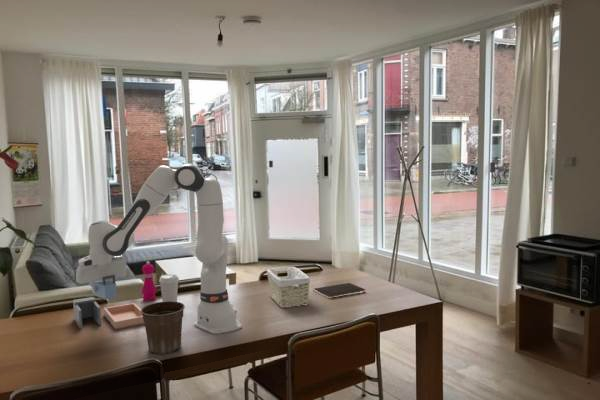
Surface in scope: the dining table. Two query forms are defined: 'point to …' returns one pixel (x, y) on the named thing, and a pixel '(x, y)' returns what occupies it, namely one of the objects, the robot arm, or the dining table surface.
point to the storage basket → (288, 286)
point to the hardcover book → (339, 289)
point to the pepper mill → (148, 282)
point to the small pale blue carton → (105, 288)
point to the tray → (124, 316)
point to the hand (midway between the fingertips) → (103, 290)
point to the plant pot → (163, 326)
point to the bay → (86, 310)
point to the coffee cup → (169, 287)
